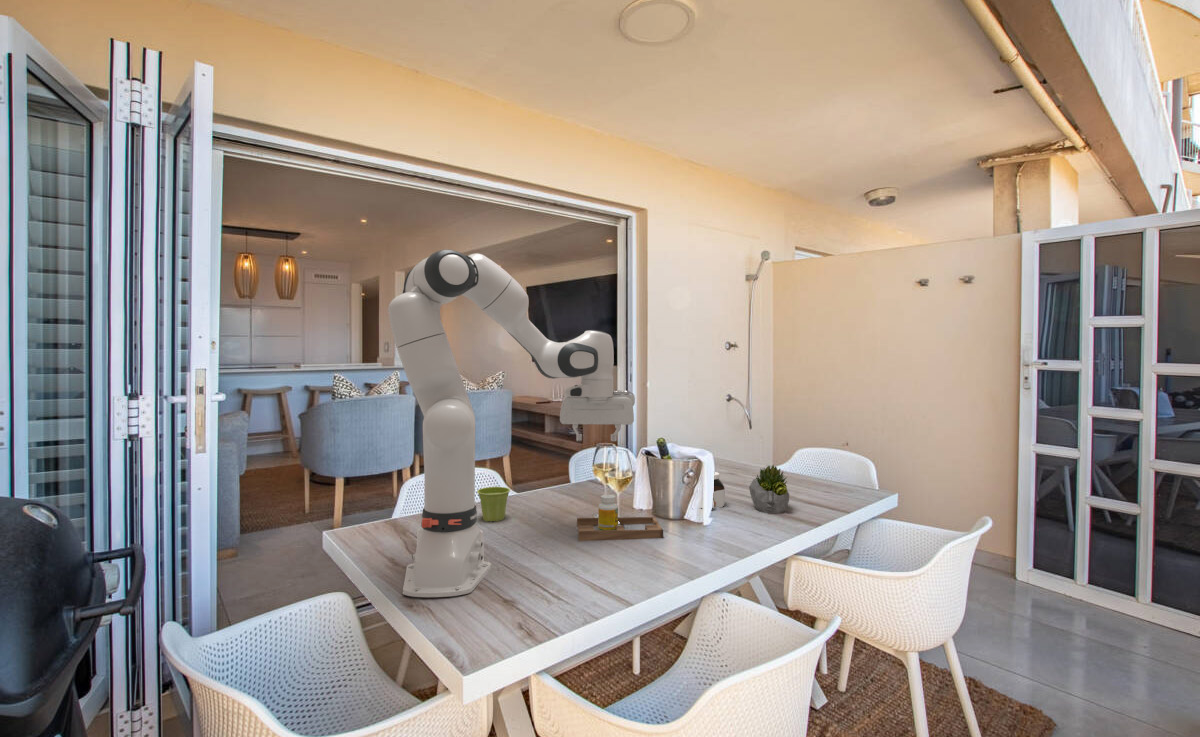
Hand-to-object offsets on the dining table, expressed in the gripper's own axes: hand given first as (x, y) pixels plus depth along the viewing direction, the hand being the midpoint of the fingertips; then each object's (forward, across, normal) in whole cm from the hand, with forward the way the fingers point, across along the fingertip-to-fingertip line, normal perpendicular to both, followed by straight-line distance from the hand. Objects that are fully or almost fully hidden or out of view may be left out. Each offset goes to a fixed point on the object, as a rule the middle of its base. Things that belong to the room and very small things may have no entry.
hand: (596, 440), depth 153 cm
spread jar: (+25, -36, -19) cm, 48 cm away
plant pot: (+25, +29, -13) cm, 40 cm away
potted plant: (+24, -55, -16) cm, 62 cm away
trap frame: (+25, -6, +2) cm, 26 cm away
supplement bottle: (+25, -4, 0) cm, 25 cm away
